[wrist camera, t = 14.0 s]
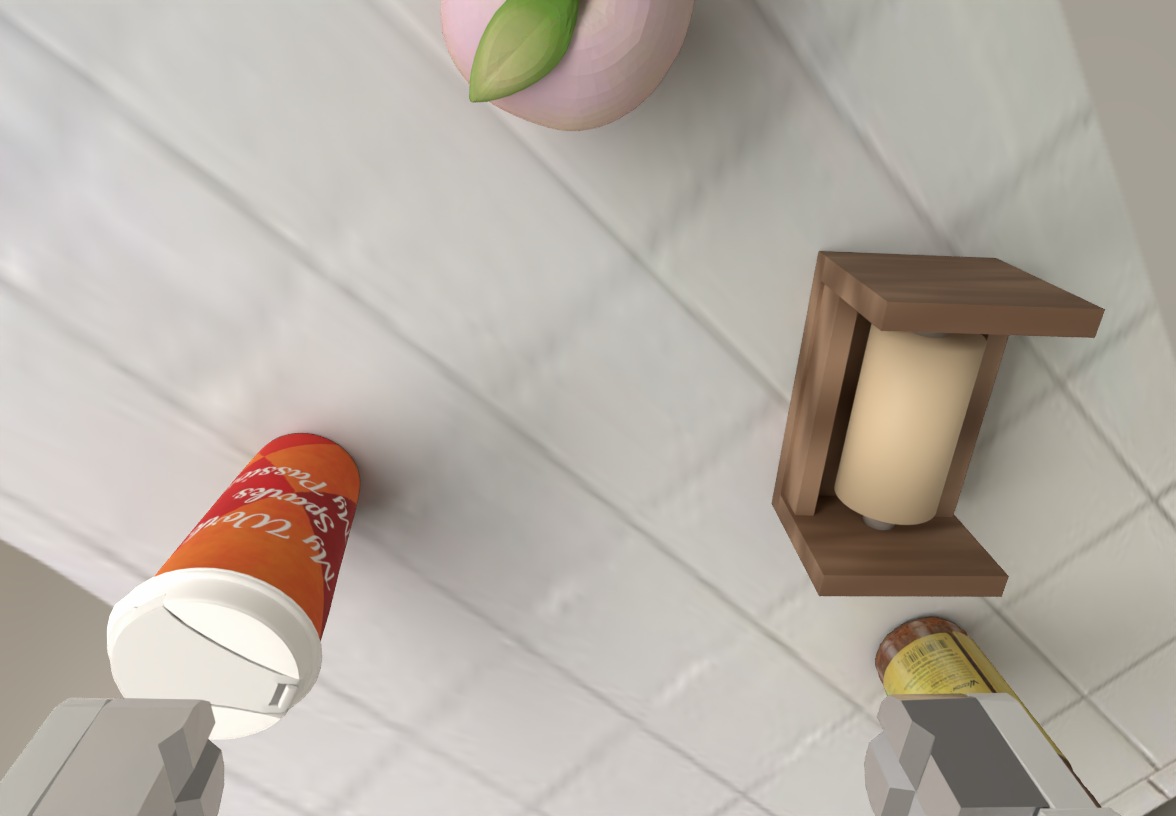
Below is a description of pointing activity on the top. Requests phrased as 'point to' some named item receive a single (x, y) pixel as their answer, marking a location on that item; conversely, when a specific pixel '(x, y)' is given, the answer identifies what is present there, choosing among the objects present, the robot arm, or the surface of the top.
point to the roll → (906, 422)
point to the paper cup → (244, 592)
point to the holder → (826, 395)
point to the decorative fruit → (564, 55)
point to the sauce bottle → (942, 666)
